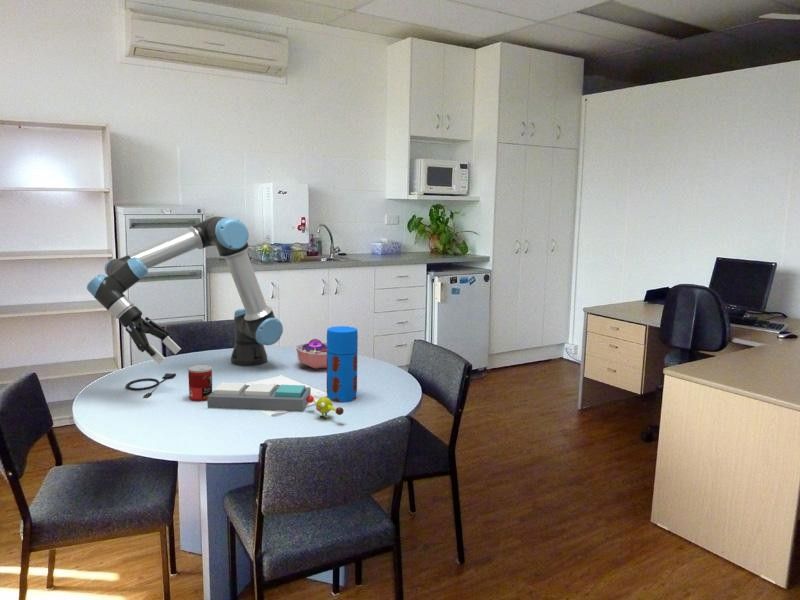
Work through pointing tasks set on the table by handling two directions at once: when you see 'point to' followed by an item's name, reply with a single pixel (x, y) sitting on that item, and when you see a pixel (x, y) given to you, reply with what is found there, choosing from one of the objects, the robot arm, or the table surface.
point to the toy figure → (324, 406)
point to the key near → (230, 389)
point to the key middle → (260, 390)
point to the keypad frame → (258, 401)
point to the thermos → (342, 363)
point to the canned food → (200, 382)
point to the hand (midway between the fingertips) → (170, 356)
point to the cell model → (313, 354)
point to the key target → (290, 391)
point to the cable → (166, 376)
